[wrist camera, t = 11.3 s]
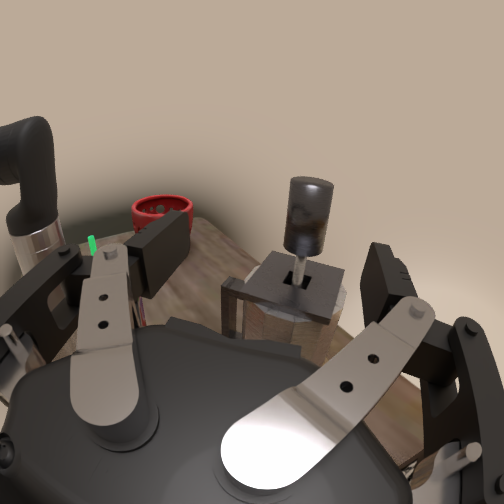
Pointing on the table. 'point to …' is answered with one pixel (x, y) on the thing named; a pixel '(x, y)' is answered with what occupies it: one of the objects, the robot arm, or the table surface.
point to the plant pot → (149, 216)
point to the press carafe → (286, 305)
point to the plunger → (306, 221)
